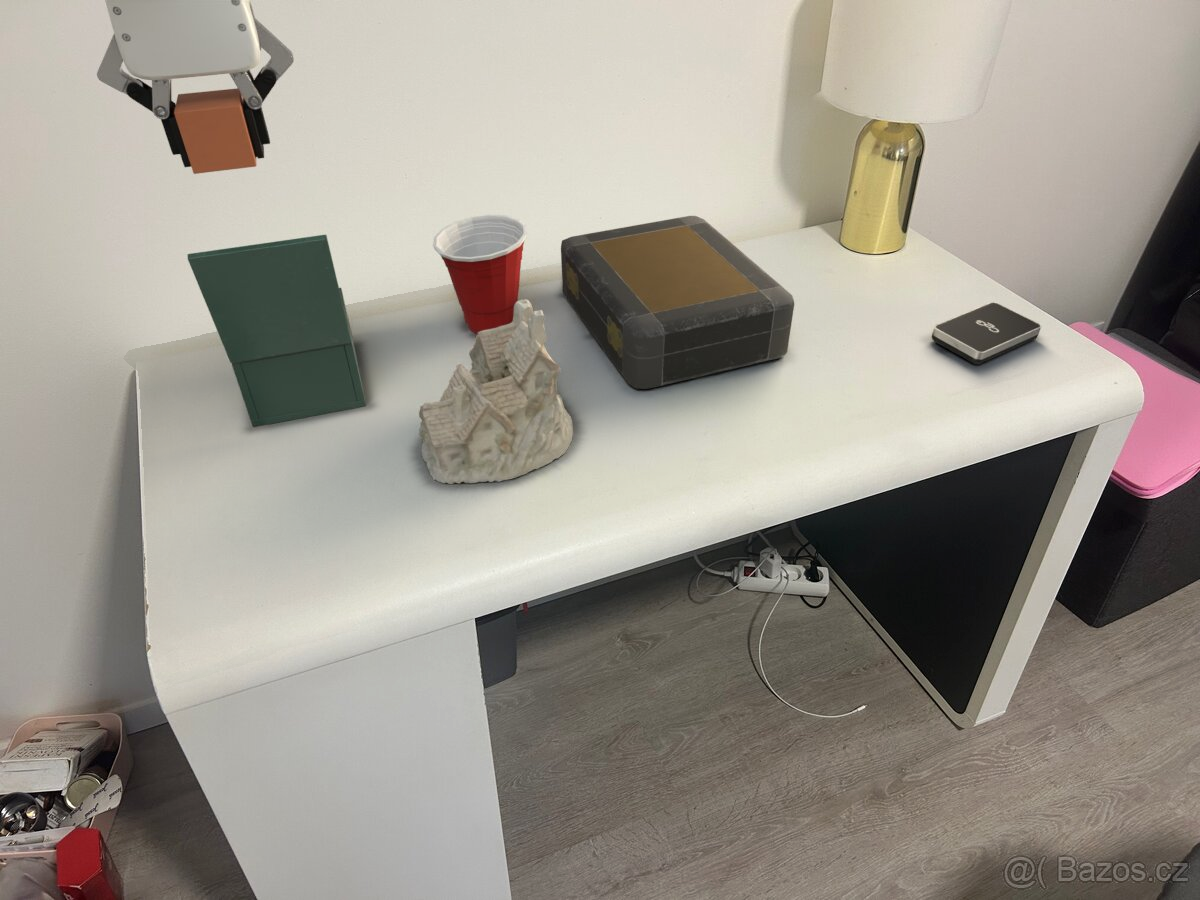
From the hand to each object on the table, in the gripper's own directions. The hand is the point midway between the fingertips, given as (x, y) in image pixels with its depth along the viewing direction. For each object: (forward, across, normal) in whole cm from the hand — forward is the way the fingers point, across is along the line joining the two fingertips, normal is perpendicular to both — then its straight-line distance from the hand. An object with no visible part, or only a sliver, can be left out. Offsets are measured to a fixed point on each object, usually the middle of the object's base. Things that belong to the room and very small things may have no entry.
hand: (224, 155), depth 72 cm
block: (0, 0, 0) cm, 0 cm away
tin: (+28, -1, -6) cm, 28 cm away
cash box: (+28, -44, -5) cm, 52 cm away
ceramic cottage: (+28, -19, +9) cm, 35 cm away
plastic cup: (+28, -23, -12) cm, 38 cm away
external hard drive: (+28, -77, +11) cm, 83 cm away
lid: (+13, -1, +2) cm, 13 cm away
